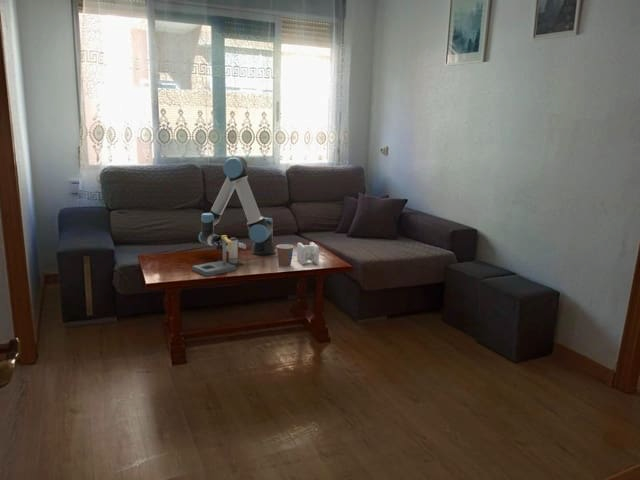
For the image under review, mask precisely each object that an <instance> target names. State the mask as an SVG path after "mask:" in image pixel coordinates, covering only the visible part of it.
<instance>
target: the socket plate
mask: <svg viewBox="0 0 640 480" xmlns="http://www.w3.org/2000/svg"><path fill="white" fill-rule="evenodd" d="M226 262H227V251H226V241H225V240H223V249H222V260H217V261H212V262H207V263H201V264H197V265H192V266H191V268H192V271H193V272H195V273H198V274H201V275H203V276H205V277H209V276H210V277H211V276H216V275H219V274H225V273H229V272H234V271H237V270H236V269H237V266H234V265H231V264H228V263H226Z"/></svg>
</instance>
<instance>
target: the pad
mask: <svg viewBox="0 0 640 480" xmlns="http://www.w3.org/2000/svg"><path fill="white" fill-rule="evenodd" d="M226 263H228V264H230V263H229V261H226ZM231 265H234V266H236V267H238V266H239V267H240V266H243V265H244V263H243V262H240V261H238V263H237V264H231Z"/></svg>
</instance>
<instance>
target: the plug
mask: <svg viewBox="0 0 640 480" xmlns="http://www.w3.org/2000/svg"><path fill="white" fill-rule="evenodd" d="M229 240H230V241H231V248H230V252H228V257H227V259H228V262H229V263H230V264H237V263H238V262H239V261H238V260H239V256H238V255H239V254H238V252H239V251H238V248H239V247H238V241H239V239H238V238H237V237H230V238H229Z"/></svg>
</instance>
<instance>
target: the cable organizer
mask: <svg viewBox="0 0 640 480" xmlns="http://www.w3.org/2000/svg"><path fill="white" fill-rule="evenodd" d="M296 247H297V250H296V252H297V253H296V256H297V257H296V258H297V261H298V262H299V263H300V264H301V265H302V266H305V265H306V263H309V262H308V261H311V262H312V263H313V264H314V265H317V264H319V260H320V259H319V258H320V257H319V256H320V246H318V244H316V243H315V242H313V241H310V242H309V245H306V244H305V245H304V244H303V243H302V242H297V245H296Z"/></svg>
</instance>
